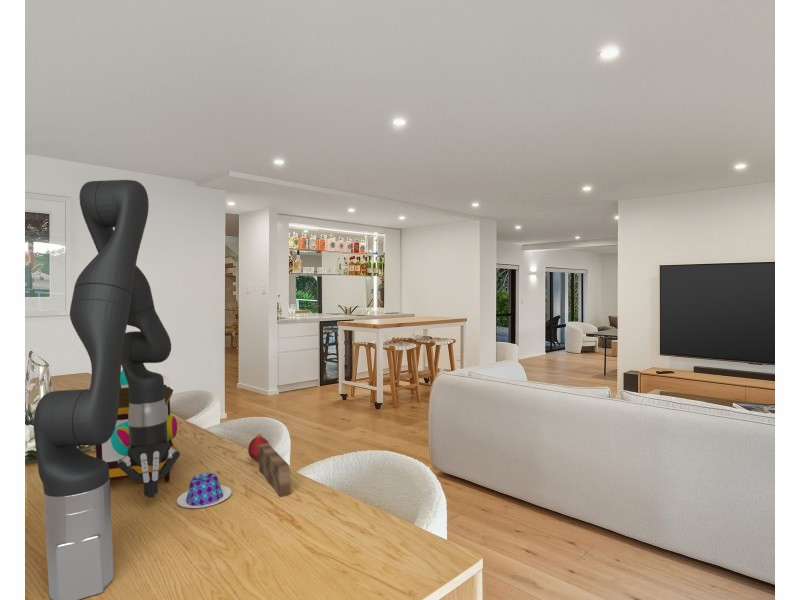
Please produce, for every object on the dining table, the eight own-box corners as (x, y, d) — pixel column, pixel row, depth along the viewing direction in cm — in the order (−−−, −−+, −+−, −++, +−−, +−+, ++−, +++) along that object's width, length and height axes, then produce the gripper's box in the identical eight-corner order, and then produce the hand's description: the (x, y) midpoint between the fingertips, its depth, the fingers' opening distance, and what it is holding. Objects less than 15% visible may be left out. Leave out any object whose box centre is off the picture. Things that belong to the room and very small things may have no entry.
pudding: (220, 483, 123) (219, 463, 123) (239, 499, 114) (239, 477, 114) (170, 498, 115) (169, 476, 115) (186, 516, 106) (186, 493, 106)
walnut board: (290, 494, 115) (289, 465, 115) (279, 497, 114) (279, 467, 114) (268, 468, 132) (267, 443, 131) (259, 470, 131) (258, 444, 130)
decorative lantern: (182, 457, 141) (178, 355, 140) (174, 484, 123) (169, 366, 121) (104, 467, 135) (99, 360, 134) (83, 497, 116) (76, 373, 115)
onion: (248, 466, 133) (247, 437, 133) (249, 459, 139) (248, 431, 139) (270, 464, 135) (269, 435, 135) (270, 456, 141) (269, 429, 140)
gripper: (113, 430, 102) (117, 511, 102) (182, 419, 108) (185, 495, 109) (113, 421, 108) (116, 497, 109) (178, 411, 115) (181, 483, 116)
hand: (151, 496), depth 109 cm, fingers closed
